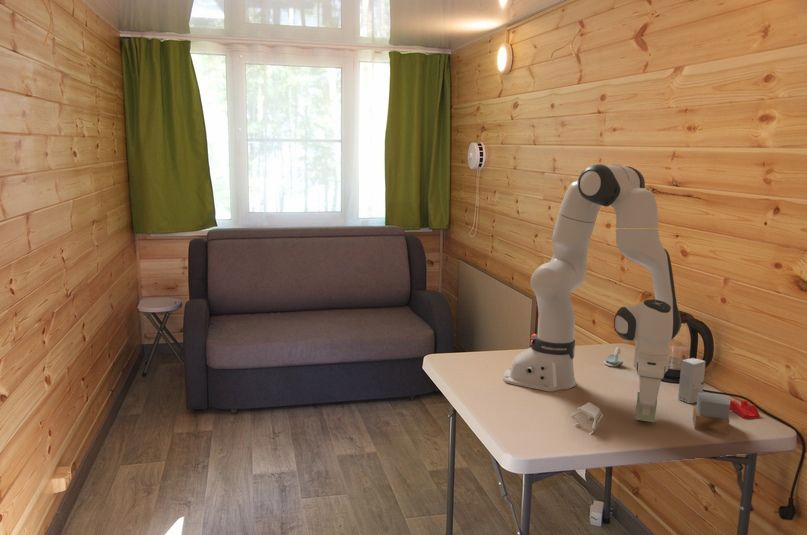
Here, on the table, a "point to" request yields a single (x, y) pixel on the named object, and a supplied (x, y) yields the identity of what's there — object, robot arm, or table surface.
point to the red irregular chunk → (744, 409)
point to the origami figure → (588, 413)
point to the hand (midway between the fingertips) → (645, 409)
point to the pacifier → (613, 358)
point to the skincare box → (691, 379)
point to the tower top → (713, 405)
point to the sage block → (640, 407)
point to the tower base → (710, 423)
